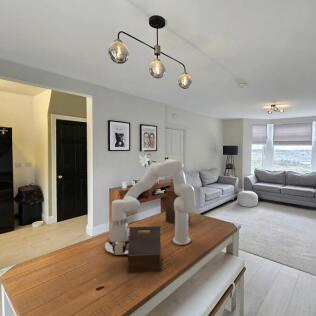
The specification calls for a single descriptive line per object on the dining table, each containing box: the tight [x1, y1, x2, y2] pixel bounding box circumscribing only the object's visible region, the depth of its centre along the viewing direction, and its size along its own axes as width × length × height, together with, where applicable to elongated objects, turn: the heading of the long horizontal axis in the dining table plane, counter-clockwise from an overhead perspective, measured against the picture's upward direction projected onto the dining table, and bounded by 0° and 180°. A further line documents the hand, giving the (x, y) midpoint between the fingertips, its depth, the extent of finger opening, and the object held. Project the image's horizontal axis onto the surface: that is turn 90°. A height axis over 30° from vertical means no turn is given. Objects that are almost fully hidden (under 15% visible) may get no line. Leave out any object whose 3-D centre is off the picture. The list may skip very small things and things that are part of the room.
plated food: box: [104, 239, 129, 255], centre depth 132 cm, size 30×30×3 cm
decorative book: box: [165, 188, 191, 226], centre depth 174 cm, size 23×7×30 cm, turn 56°
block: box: [114, 243, 124, 256], centre depth 113 cm, size 4×4×4 cm
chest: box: [127, 242, 162, 273], centre depth 110 cm, size 13×17×9 cm
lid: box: [127, 225, 162, 256], centre depth 103 cm, size 14×17×5 cm
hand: (119, 251), depth 113 cm, fingers closed on block, 4 cm apart
